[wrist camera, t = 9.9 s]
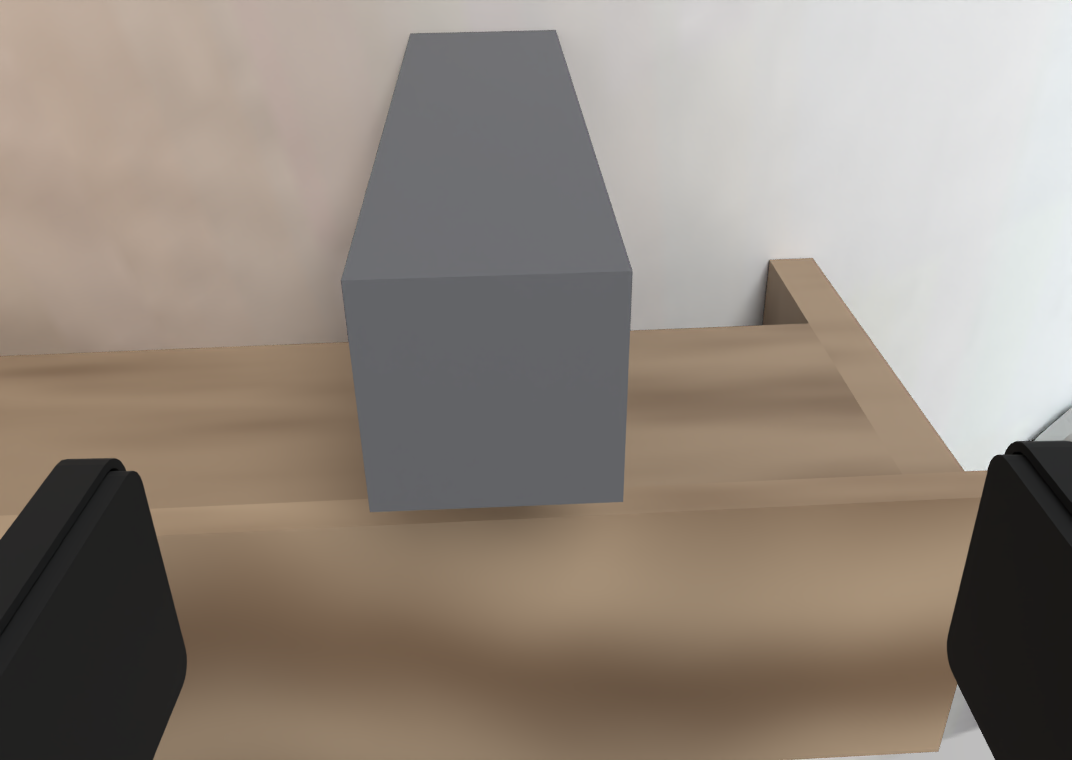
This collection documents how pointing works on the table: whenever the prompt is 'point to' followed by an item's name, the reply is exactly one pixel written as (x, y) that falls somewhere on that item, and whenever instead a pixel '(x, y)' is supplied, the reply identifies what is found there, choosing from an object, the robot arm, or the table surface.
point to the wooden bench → (540, 555)
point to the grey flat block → (488, 287)
